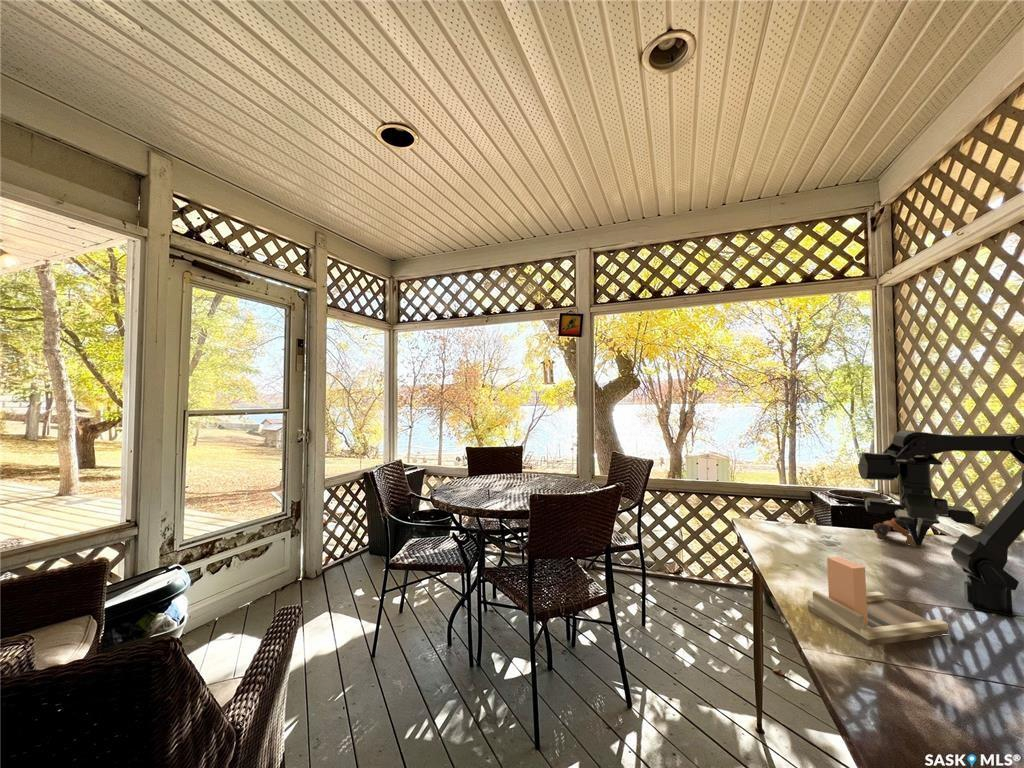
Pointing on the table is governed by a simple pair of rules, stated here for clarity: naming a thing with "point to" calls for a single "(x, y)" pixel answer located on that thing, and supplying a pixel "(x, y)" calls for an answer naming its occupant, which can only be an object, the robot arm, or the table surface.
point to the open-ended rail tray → (876, 620)
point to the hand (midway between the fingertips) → (917, 545)
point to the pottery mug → (885, 527)
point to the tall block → (847, 584)
